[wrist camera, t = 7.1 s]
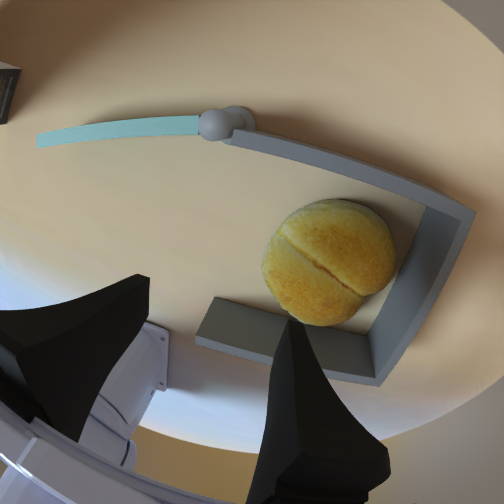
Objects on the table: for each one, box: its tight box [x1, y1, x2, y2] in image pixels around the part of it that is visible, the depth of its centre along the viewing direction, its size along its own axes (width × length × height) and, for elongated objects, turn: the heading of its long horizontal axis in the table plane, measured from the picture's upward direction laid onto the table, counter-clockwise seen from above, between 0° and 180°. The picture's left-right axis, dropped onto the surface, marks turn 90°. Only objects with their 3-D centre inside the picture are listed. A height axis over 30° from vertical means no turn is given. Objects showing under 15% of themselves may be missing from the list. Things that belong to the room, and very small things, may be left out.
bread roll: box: [262, 199, 396, 326], centre depth 18 cm, size 8×9×4 cm
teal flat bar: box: [37, 109, 246, 148], centre depth 16 cm, size 14×2×4 cm, turn 87°
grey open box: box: [194, 106, 476, 387], centre depth 18 cm, size 15×16×5 cm
